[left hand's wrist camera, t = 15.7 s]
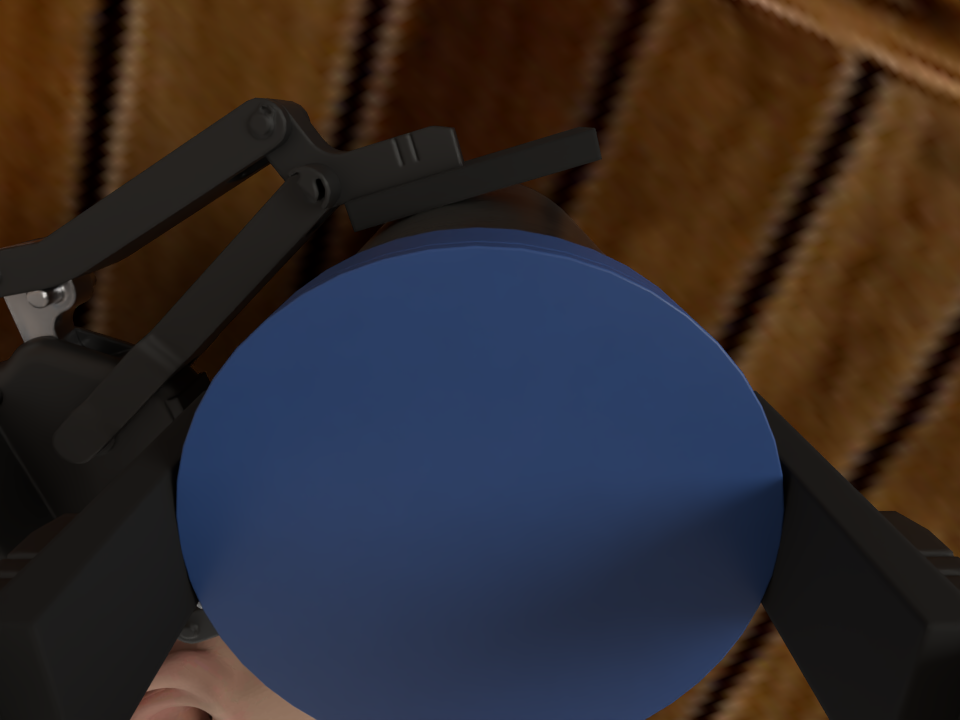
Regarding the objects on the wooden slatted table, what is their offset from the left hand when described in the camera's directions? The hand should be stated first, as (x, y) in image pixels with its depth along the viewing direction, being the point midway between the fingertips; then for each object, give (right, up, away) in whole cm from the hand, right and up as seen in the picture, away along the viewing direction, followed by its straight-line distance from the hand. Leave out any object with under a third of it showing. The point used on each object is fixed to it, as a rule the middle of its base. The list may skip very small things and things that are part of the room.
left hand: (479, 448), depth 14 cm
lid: (0, -1, -3) cm, 3 cm away
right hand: (+4, +3, +5) cm, 7 cm away
